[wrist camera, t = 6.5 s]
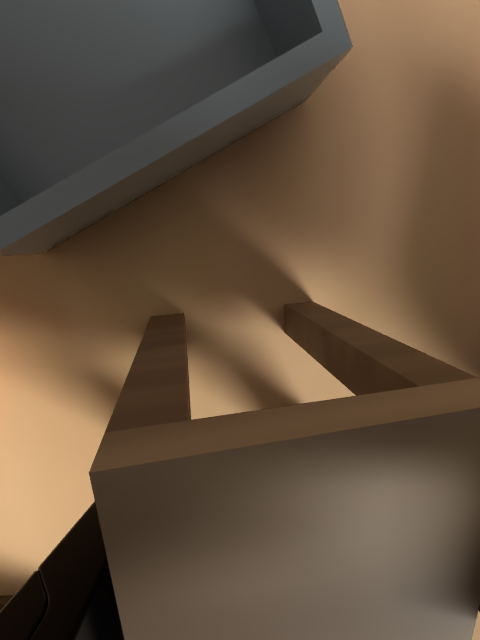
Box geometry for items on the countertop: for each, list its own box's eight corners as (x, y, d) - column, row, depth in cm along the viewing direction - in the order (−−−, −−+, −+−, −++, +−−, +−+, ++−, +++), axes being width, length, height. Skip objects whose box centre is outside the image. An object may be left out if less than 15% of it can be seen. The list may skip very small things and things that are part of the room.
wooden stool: (151, 315, 11) (88, 473, 4) (312, 301, 12) (526, 400, 5) (169, 460, 13) (153, 775, 5) (310, 437, 14) (465, 670, 6)
